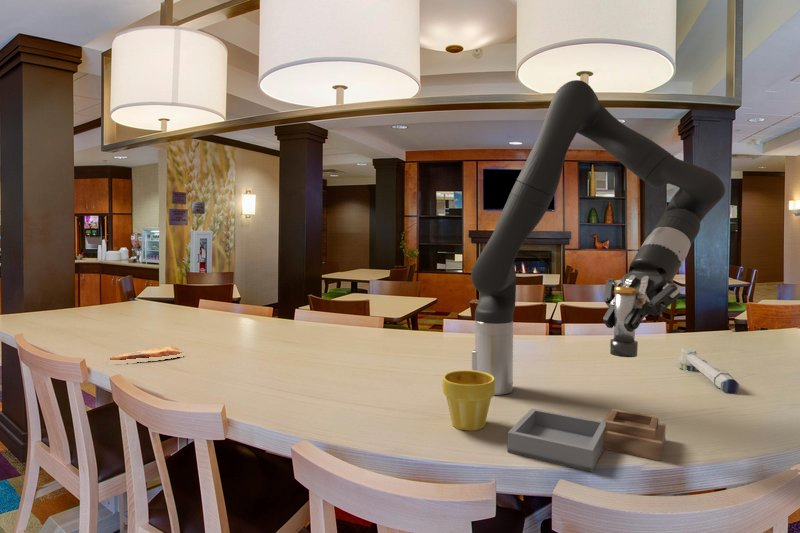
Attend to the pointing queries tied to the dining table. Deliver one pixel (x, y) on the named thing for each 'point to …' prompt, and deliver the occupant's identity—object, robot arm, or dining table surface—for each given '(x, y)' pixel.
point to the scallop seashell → (149, 353)
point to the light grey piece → (707, 370)
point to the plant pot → (468, 397)
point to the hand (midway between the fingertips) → (617, 326)
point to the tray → (558, 439)
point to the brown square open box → (634, 434)
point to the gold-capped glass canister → (622, 338)
